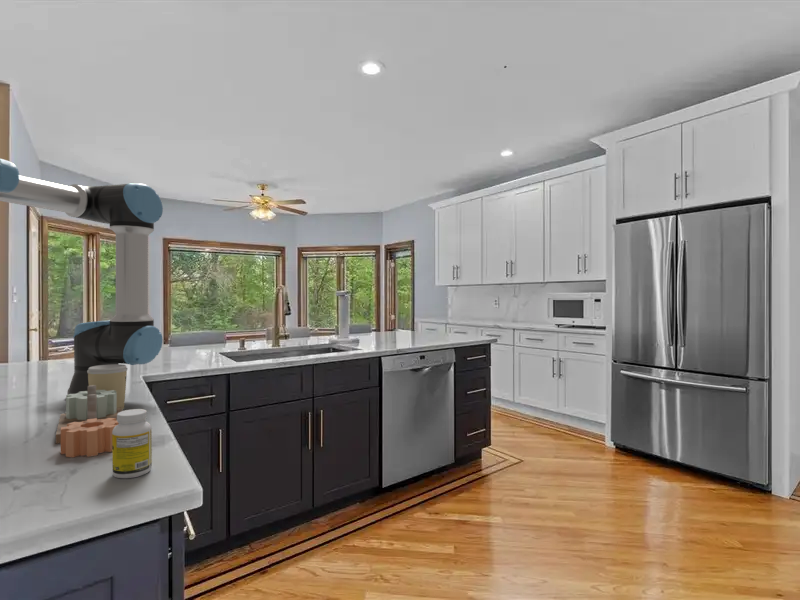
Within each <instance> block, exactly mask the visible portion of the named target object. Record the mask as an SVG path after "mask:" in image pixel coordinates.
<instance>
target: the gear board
mask: <svg viewBox="0 0 800 600" xmlns="http://www.w3.org/2000/svg"><path fill="white" fill-rule="evenodd" d="M122 411H123V410H122V408H117V412H116V413H115V414H108V415H106V417H101V418H97V394H96V385H91V386H88V395H87V419H94V418H97V420H98V419H107V418H116V421H117V414H118V413H119V412H122ZM87 419H86V420H78V419H77V418H73V419H67V418H66V412H65V413H60V415H59V419H58V424H57V428H56V433H55V445H56V444H57V445H58V444H61V427H67V424H69V423H72V422H82V421H87Z"/></svg>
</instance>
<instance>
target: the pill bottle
mask: <svg viewBox="0 0 800 600" xmlns="http://www.w3.org/2000/svg"><path fill="white" fill-rule="evenodd" d="M147 414H148V413H147V410H146V409H142V408H133V409H126V410H125V409H124V410H122V412H119V413H118V414H117V422H118V423H119V424H118V425H117V426H115V427H114V429H113V431H112V455H111V457H112V458H111V459H112V476H113V477H115V478H118V479H133V478H138V477H142V476H144V475H146V474H148V473H149V472H150V471H151V470H152V462H153V461H152V460H153V459H152V458H153V455H152V453H153V451H152V426H151V423H149V422H148V421H146V419H147V416H148V415H147Z"/></svg>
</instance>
